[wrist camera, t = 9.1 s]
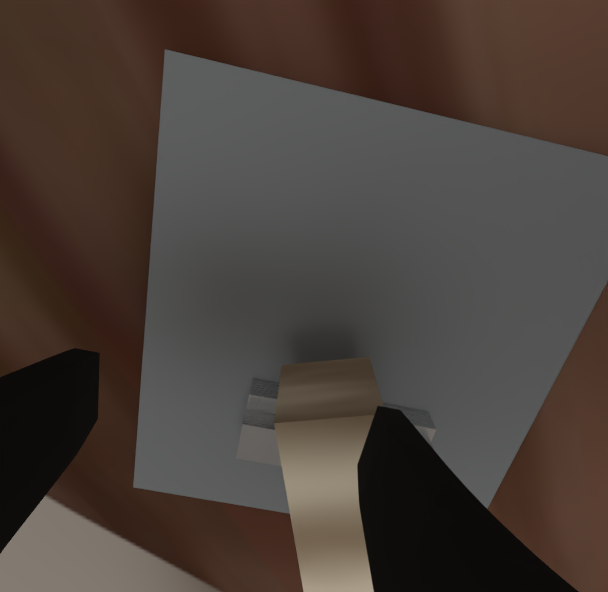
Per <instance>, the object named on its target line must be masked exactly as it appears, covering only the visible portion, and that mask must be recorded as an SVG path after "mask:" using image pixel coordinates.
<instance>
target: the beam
mask: <svg viewBox="0 0 608 592" xmlns="http://www.w3.org/2000/svg"><path fill="white" fill-rule="evenodd" d="M377 406H382V407H384V406H383V403H382V399H381V396H380V392H379V389H378V385H377V382H376V378H375V375H374V371H373V368H372V364H371V361H370V357H362V358H351V359H340V360H329V361H319V362H308V363H297V364H287V365H282V366H281V374H280V382H279V390H278V398H277V405H276V413H275V421H274V425H275V431H276V437H277V442H278V448H279V454H280V459H281V465H282V471H283V477H284V482H285V488H286V494H287V499H288V505H289V511H290V516H291V522H292V528H293V533H294V539H295V545H296V551H297V556H298V562H299V568H300V573H301V579H302V585H303V590H304V592H374V590H373V584H372V578H371V573H370V567H369V561H368V555H367V549H366V543H365V538H364V532H363V525H362V519H361V513H360V507H359V494H358V472H357V464H358V461H359V458H360V456H361V453H362V450H363V447H364V444H365V441H366V438H367V435H368V432H369V429H370V426H371V423H372V421H373V418H374V415H375V412H376V409H377Z"/></svg>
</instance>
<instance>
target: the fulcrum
mask: <svg viewBox="0 0 608 592" xmlns="http://www.w3.org/2000/svg"><path fill="white" fill-rule="evenodd" d="M278 390H279V383H277V382H272V381H267V380H261V379H256V378H253V380H252V384H251V388H250V393H249V397H248V402H247V407H246V412H245V416H244V420H243V424H242V429H241V435H240V440H239V445H238V450H237V455H236V459H242V460H248V461H254V462H259V463H265V464H271V465H276V466H282V465H281V459H280V454H279V448H278V442H277V437H276V431H275V425H274V421H275V413H276V405H277V398H278ZM383 406H384V407H388V408H393V409H398V410H401V411H402V412H403V414H404V415H405V416H406V417H407V418H408V419H409V420H410V422H411V423H412V424H413V425H414V426H415V428H416V429H417V430H418V431H419V432H420V434H421V435H422V436H423V437H424V439H425V440H426V441H427V442H428V443H429V445H430V446H431V447H432V444H431V441H432V439H433V437H434V434H435V432H436V427H435V425H434V423H433V421H432V418H431V416H430V414H429V412H428V411H424V410H419V409H414V408H409V407H403V406H398V405H393V404H388V403H383ZM432 448H433V447H432Z"/></svg>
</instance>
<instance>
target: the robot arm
mask: <svg viewBox="0 0 608 592" xmlns="http://www.w3.org/2000/svg"><path fill="white" fill-rule="evenodd" d="M98 390H99V353H97V352H92V351H87V350H81V349H76V348H74V349H71V350H68V351H65V352H62V353H60V354H57V355H55V356H52V357H49V358H47V359H44V360H42V361H40V362H37V363H35V364H32V365H30V366H27V367H25V368H22V369H20V370H17V371H15V372H12V373H10V374H7V375H5V376H2V377H0V553H1V552H2V550H3V549H4V548H5V546H6V545H7V544H8V542H9V541H10V540H11V539H12V537H13V536H14V535H15V533H16V532H17V531H18V529H19V528H20V527H21V526H22V524H23V523H24V522H25V521H26V519H27V518H28V517H29V515H30V514H31V513H32V512H33V510H34V509H35V508H36V506H37V505H38V504H39V503H40V501H41V500H42V499H43V498H44V496H45V495H46V494H47V492H48V491H49V490H50V489H51V487H52V486H53V485H54V483H55V482H56V481H57V480H58V478H59V477H60V476H61V474H62V473H63V472H64V470H65V469H66V468H67V467H68V465H69V464H70V463H71V461H72V460H73V459H74V457H75V456H76V454H77V453H78V451H79V450H80V448H81V446H82V445H83V443H84V441H85V440H86V438H87V436H88V435H89V433H90V431H91V430H92V428H93V426H94V424H95V423H96V421H97V419H98ZM357 472H358V494H359V507H360V513H361V519H362V525H363V532H364V538H365V543H366V549H367V555H368V561H369V567H370V573H371V578H372V584H373V590H374V592H578V591H577V590H576V589H574V588H573V587H572V586H571V585H570V584H568V583H567V582H566V581H565V580H564V579H562V578H561V577H560V576H559V575H558V574H556V573H555V572H554V571H553V570H552V569H551V568H549V567H548V566H547V565H546V564H545V563H544V562H543V561H541V560H540V559H539V558H538V557H537V556H536V555H535V554H533V553H532V552H531V551H530V550H529V549H528V548H527V547H526V546H525V545H524V544H523V543H522V542H521V541H520V540H518V539H517V538H516V537H515V536H514V535H513V534H512V533H511V532H510V531H509V530H508V529H507V528H506V527H505V526H504V525H502V524H501V523H500V522H499V521H498V520H497V519H496V518H495V517H494V516H493V515H492V514H491V513H490V512H489V511H488V510H487V508H486V507H485V506H484V505H483V504H482V503H481V502H480V501H479V500H478V499H477V498H476V497H475V496H474V495H473V494H472V493H471V492H470V490H469V489H468V488H467V487H466V486H465V485H464V484H463V483H462V482H461V481H460V480H459V478H458V477H457V476H456V475H455V474H454V473H453V472H452V470H451V469H450V468H449V467H448V466H447V465H446V464H445V462H444V461H443V460H442V459H441V458H440V457H439V455H438V454H437V453H436V452H435V451H434V449H433V448H432V447H431V446H430V445H429V443H428V442H427V441H426V440H425V439H424V437H423V436H422V435H421V434H420V432H419V431H418V430H417V429H416V428H415V426H414V425H413V424H412V423H411V422H410V420H409V419H408V418H407V417H406V416H405V415H404V414H403V412H402V411H401V410H398V409H393V408H388V407H382V406H377V409H376V412H375V415H374V418H373V421H372V423H371V426H370V429H369V432H368V435H367V438H366V441H365V444H364V447H363V450H362V453H361V456H360V458H359V461H358V464H357Z"/></svg>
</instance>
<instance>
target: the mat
mask: <svg viewBox="0 0 608 592" xmlns="http://www.w3.org/2000/svg"><path fill="white" fill-rule="evenodd" d="M607 281H608V156H605V155H601V154H597V153H593V152H589V151H584V150H580V149H576V148H572V147H568V146H564V145H560V144H555V143H551V142H547V141H543V140H539V139H535V138H531V137H526V136H522V135H518V134H514V133H510V132H506V131H502V130H497V129H493V128H489V127H485V126H481V125H477V124H472V123H468V122H464V121H460V120H456V119H452V118H448V117H443V116H439V115H435V114H431V113H427V112H423V111H419V110H414V109H410V108H406V107H402V106H398V105H394V104H390V103H385V102H381V101H377V100H373V99H369V98H365V97H361V96H356V95H352V94H348V93H344V92H340V91H336V90H331V89H327V88H323V87H319V86H315V85H311V84H307V83H302V82H298V81H294V80H290V79H286V78H282V77H278V76H273V75H269V74H265V73H261V72H257V71H253V70H249V69H244V68H240V67H236V66H232V65H228V64H224V63H219V62H215V61H211V60H207V59H203V58H199V57H195V56H190V55H186V54H182V53H178V52H174V51H170V50H166V49H165V57H164V71H163V85H162V98H161V112H160V126H159V140H158V154H157V168H156V181H155V195H154V209H153V223H152V237H151V251H150V264H149V278H148V292H147V306H146V320H145V334H144V347H143V361H142V375H141V389H140V403H139V416H138V430H137V444H136V458H135V472H134V486H133V487H135V488H141V489H147V490H153V491H159V492H165V493H171V494H176V495H182V496H188V497H194V498H200V499H206V500H212V501H218V502H224V503H230V504H236V505H242V506H248V507H254V508H260V509H265V510H271V511H277V512H283V513H289V514H290V511H289V505H288V499H287V494H286V488H285V482H284V477H283V471H282V466H276V465H271V464H265V463H259V462H254V461H248V460H242V459H236V455H237V450H238V445H239V440H240V435H241V429H242V424H243V420H244V416H245V412H246V407H247V402H248V397H249V393H250V388H251V384H252V380H253V378H256V379H261V380H267V381H272V382H277V383H279V382H280V374H281V366H282V365H287V364H297V363H308V362H319V361H329V360H340V359H351V358H362V357H370V361H371V364H372V368H373V371H374V375H375V378H376V382H377V385H378V389H379V392H380V396H381V399H382V403H388V404H393V405H398V406H403V407H409V408H414V409H419V410H424V411H428V412H429V414H430V416H431V418H432V421H433V423H434V425H435V427H436V432H435V434H434V437H433V439H432V441H431V444H432V447H433V449H434V451H435V452H436V453H437V454H438V455H439V457H440V458H441V459H442V460H443V461H444V462H445V464H446V465H447V466H448V467H449V468H450V469H451V470H452V472H453V473H454V474H455V475H456V476H457V477H458V478H459V480H460V481H461V482H462V483H463V484H464V485H465V486H466V487H467V488H468V489H469V490H470V492H471V493H472V494H473V495H474V496H475V497H476V498H477V499H478V500H479V501H480V502H481V503H482V504H483V505H484V506H485V507H486V508H488V506H489V504H490V502H491V501H492V499H493V497H494V495H495V493H496V491H497V489H498V487H499V485H500V484H501V482H502V480H503V478H504V476H505V474H506V472H507V470H508V468H509V467H510V465H511V463H512V461H513V459H514V457H515V455H516V453H517V451H518V450H519V448H520V446H521V444H522V442H523V440H524V438H525V436H526V434H527V432H528V431H529V429H530V427H531V425H532V423H533V421H534V419H535V417H536V415H537V414H538V412H539V410H540V408H541V406H542V404H543V402H544V400H545V398H546V397H547V395H548V393H549V391H550V389H551V387H552V385H553V383H554V381H555V380H556V378H557V376H558V374H559V372H560V370H561V368H562V366H563V364H564V362H565V361H566V359H567V357H568V355H569V353H570V351H571V349H572V347H573V345H574V344H575V342H576V340H577V338H578V336H579V334H580V332H581V330H582V328H583V327H584V325H585V323H586V321H587V319H588V317H589V315H590V313H591V311H592V310H593V308H594V306H595V304H596V302H597V300H598V298H599V296H600V294H601V293H602V291H603V289H604V287H605V285H606V283H607Z"/></svg>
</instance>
